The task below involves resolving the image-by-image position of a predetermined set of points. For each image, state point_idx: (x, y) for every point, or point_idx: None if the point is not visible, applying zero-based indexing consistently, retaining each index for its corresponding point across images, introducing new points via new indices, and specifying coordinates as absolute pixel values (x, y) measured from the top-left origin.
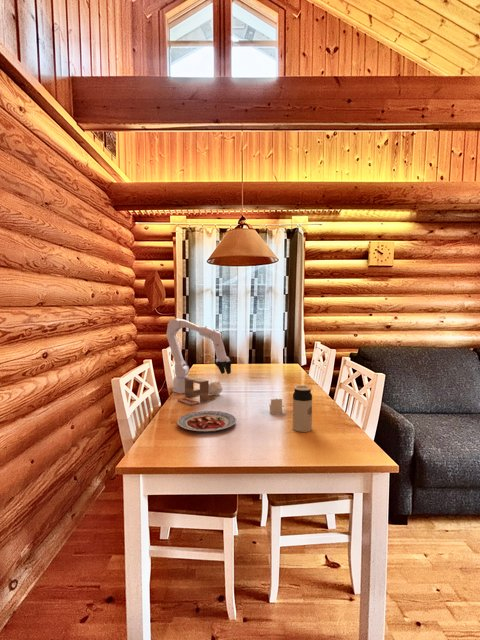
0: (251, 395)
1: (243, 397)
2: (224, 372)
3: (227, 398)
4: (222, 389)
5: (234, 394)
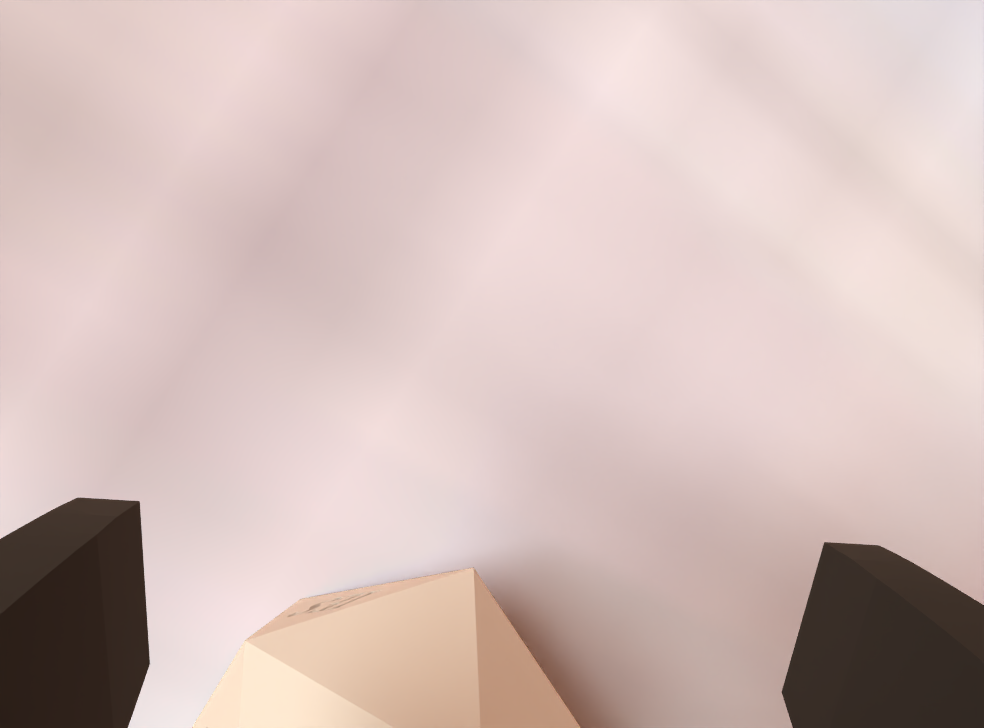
0: (867, 12)
1: (876, 256)
2: (132, 545)
3: (746, 564)
4: (477, 575)
5: (589, 285)
